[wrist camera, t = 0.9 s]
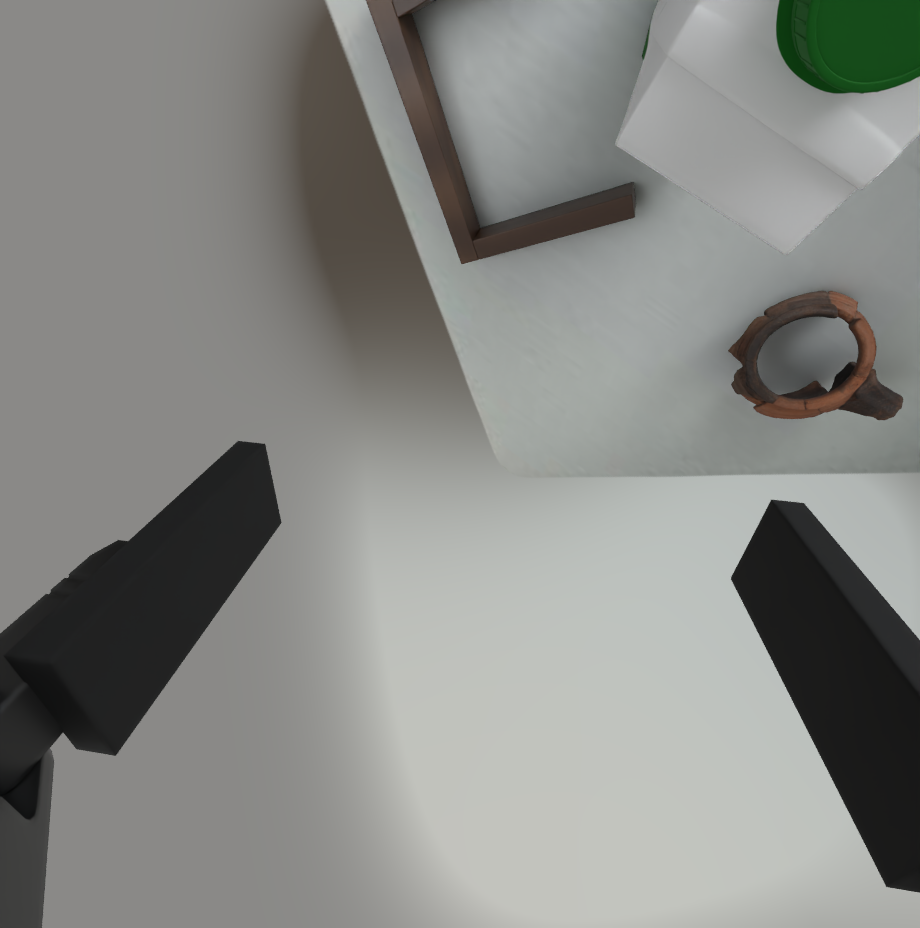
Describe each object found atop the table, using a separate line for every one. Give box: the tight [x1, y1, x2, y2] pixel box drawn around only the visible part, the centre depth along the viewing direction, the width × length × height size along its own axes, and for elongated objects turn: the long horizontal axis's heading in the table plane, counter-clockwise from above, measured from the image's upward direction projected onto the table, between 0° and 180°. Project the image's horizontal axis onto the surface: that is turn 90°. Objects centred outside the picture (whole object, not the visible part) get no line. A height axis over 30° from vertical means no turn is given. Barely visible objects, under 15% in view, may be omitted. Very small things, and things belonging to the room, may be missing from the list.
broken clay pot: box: [728, 291, 903, 420], centre depth 34 cm, size 12×10×8 cm
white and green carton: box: [615, 0, 920, 255], centre depth 18 cm, size 9×9×20 cm
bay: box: [366, 0, 636, 264], centre depth 29 cm, size 16×13×2 cm
